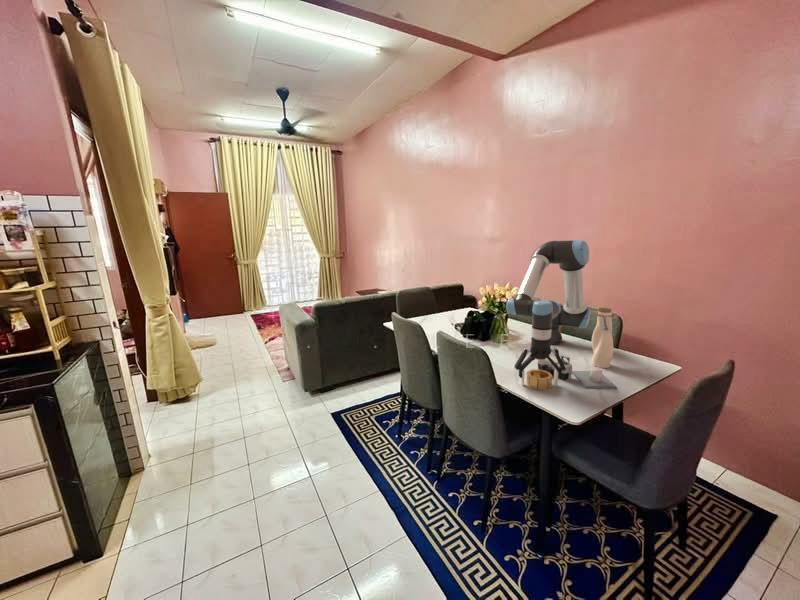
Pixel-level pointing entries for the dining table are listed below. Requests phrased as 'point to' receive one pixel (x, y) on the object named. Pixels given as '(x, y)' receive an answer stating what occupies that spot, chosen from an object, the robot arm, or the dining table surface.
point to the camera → (547, 366)
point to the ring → (539, 379)
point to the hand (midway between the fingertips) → (538, 384)
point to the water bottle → (603, 339)
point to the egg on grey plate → (593, 379)
